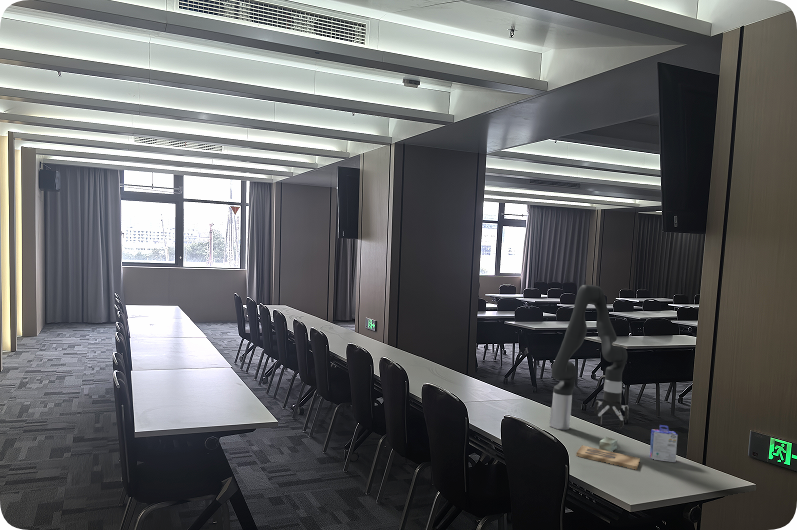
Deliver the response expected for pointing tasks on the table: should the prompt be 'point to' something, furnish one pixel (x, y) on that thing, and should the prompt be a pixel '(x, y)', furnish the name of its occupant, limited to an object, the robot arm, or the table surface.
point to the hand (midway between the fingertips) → (610, 426)
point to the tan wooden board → (608, 457)
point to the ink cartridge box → (663, 444)
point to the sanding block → (608, 444)
